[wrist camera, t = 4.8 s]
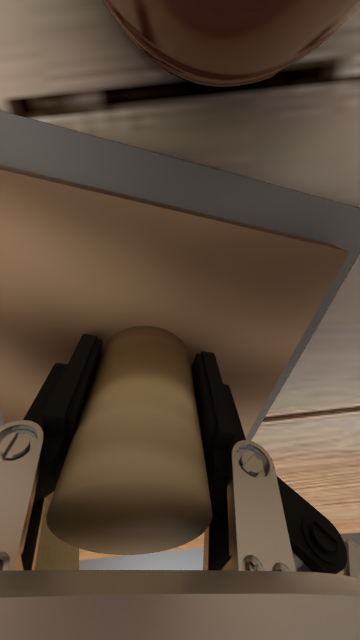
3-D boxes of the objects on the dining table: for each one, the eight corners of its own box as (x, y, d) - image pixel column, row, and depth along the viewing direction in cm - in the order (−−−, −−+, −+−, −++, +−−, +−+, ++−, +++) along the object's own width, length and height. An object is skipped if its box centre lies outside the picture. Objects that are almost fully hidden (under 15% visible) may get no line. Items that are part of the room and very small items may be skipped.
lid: (-20, 160, 8) (-586, 126, 2) (330, 243, 10) (584, 354, 4) (17, 420, 15) (-91, 605, 8) (230, 439, 17) (269, 599, 10)
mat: (-73, 91, 8) (-87, 86, 7) (373, 212, 10) (382, 214, 10) (-3, 427, 15) (-8, 434, 15) (240, 447, 18) (242, 454, 18)
